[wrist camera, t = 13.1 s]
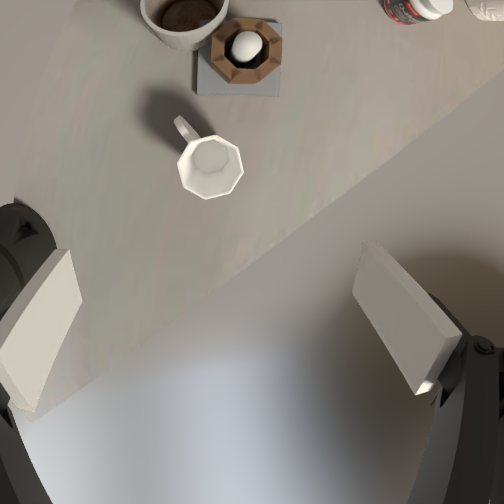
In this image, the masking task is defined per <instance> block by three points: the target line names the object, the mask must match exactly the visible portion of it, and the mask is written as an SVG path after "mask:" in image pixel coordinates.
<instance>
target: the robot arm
mask: <svg viewBox="0 0 504 504" xmlns="http://www.w3.org/2000/svg"><path fill="white" fill-rule="evenodd" d="M352 294H353V295H354V297H355V298H356V300H357V301H358V303H359V304H360V306H361V308H362V309H363V310H364V312H365V314H366V315H367V317H368V318H369V320H370V322H371V323H372V325H373V326H374V328H375V329H376V331H377V333H378V334H379V336H380V337H381V339H382V341H383V342H384V344H385V346H386V347H387V349H388V350H389V352H390V354H391V355H392V357H393V359H394V360H395V362H396V364H397V365H398V367H399V369H400V370H401V372H402V374H403V375H404V377H405V379H406V380H407V382H408V384H409V386H410V387H411V389H412V391H413V392H414V394H415V395H417V394H420V393H424V392H427V391H430V390H431V389H432V387H433V386H434V384H435V383H436V381H437V380H439V381H440V383H441V384H442V386H441V387H440V389H439V391H438V392H437V394H436V395H435V397H434V398H433V400H432V401H431V403H430V405H431V406H432V405H433V404H434V402H435V401H436V406H435V410H434V415H433V419H432V424H431V428H430V432H429V436H428V440H427V444H426V447H425V451H424V454H423V457H422V461H421V464H420V467H419V470H418V473H417V477H416V480H415V482H414V485H413V488H412V491H411V494H410V496H409V499H408V501H407V504H489V499H490V504H504V348H498V347H495V346H494V344H493V343H492V342H491V341H489V340H488V339H486V338H485V337H482V336H471V335H470V334H469V333H468V332H467V330H466V329H465V328H464V327H463V326H462V325H461V323H460V322H459V321H458V320H457V319H456V318H455V317H454V316H452V313H451V312H450V311H449V310H448V309H446V307H445V305H444V304H443V303H441V301H440V300H439V299H437V298H436V297H434V296H433V295H431V294H429V293H426V292H425V291H424V290H423V289H422V288H421V287H420V285H418V283H417V282H416V281H415V280H414V279H413V278H412V277H411V276H410V275H409V274H408V273H407V272H406V271H405V270H404V269H403V268H402V267H401V266H400V265H399V264H398V263H397V262H396V260H395V259H394V258H393V257H391V255H390V254H389V253H388V252H387V251H386V250H385V249H384V248H383V247H382V246H381V245H379V244H378V243H377V242H363V245H362V250H361V254H360V259H359V264H358V268H357V273H356V277H355V282H354V286H353V290H352ZM81 303H82V297H81V294H80V290H79V287H78V283H77V279H76V276H75V272H74V268H73V264H72V259H71V255H70V251H69V249H57V247H56V243H55V240H54V237H53V235H52V233H51V231H50V229H49V227H48V226H47V224H46V223H45V222H44V220H43V219H42V218H41V217H40V216H39V215H38V214H37V213H36V212H34V211H33V210H32V209H30V208H28V207H26V206H24V205H21V204H15V203H12V204H6V205H4V206H2V207H0V504H53V503H52V502H51V500H50V498H49V496H48V495H47V493H46V491H45V489H44V487H43V485H42V483H41V481H40V479H39V477H38V475H37V473H36V471H35V469H34V467H33V464H32V462H31V460H30V458H29V456H28V453H27V451H26V449H25V446H24V444H23V441H22V439H21V436H20V434H19V431H18V428H17V426H16V423H15V420H14V417H13V414H12V412H11V410H10V408H9V407H8V402H9V400H10V398H11V399H12V401H13V402H14V404H15V405H16V406H17V408H19V409H23V410H27V411H31V412H34V411H35V408H36V406H37V403H38V400H39V397H40V395H41V392H42V390H43V387H44V384H45V382H46V379H47V377H48V374H49V372H50V370H51V367H52V365H53V363H54V360H55V358H56V356H57V353H58V351H59V349H60V346H61V344H62V342H63V340H64V338H65V336H66V333H67V331H68V329H69V327H70V325H71V323H72V321H73V319H74V317H75V315H76V313H77V311H78V309H79V307H80V305H81Z"/></svg>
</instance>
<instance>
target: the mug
mask: <svg viewBox="0 0 504 504" xmlns="http://www.w3.org/2000/svg"><path fill="white" fill-rule="evenodd" d="M228 4H229V0H141V1H140V8H141V14H142V16H143V18H144V20H145V21H146V22H147V24H148V25H149V26H150V27H151V29H152V30H153V31H154V32H155V33H156V35H157V36H158V37H159V38H160V39H161V41H162V42H163V43H164V44H166V45H167V46H169V47H170V48H172V49H175V50H178V51H195V50H198V48H201V47H203V46H206V45H207V44H209V43H211V42H212V35H213V34H214V33H215V32H216V31H217V30H219V29H220V28H221V27H222V26H224V23H225V19H226V14H227V9H228ZM200 20H212V21H211V22H210V23H208V24H206V25H205V26H203V27H201V28H199V27H200Z"/></svg>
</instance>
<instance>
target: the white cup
mask: <svg viewBox="0 0 504 504" xmlns="http://www.w3.org/2000/svg"><path fill="white" fill-rule="evenodd" d="M466 3H467V5H468V8H469V9H470V10H471V12H472V13H473V14H474V15H475V16H476V17H477V18H478V19H481V20H493V21H504V0H466Z"/></svg>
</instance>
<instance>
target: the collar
mask: <svg viewBox="0 0 504 504" xmlns="http://www.w3.org/2000/svg"><path fill="white" fill-rule="evenodd" d="M245 31H251V32H254V33H256V34H257V35H259V36H260V38H261V40H262V48H261V63H260V65H259V66H258V67H257V68H256V69H238V68H236V67H235V66H234V65H233V64H232V63H231V62H230V61H229V60H228V59H227V58H225V57H224V48H225V47H226V46H227V45H228V44H229V43H231V42H232V41H233V40H234V39H235V38H236V37H237V36H238V35H239V34H240V33H242V32H245ZM281 58H282V38H281V37H280V35H279V34H278V33H277V32H276V31H275V30H274V29H273V28H271V27H270V26H269V25H268V24H267V23H266V22H265V21H264V20H263V19H253V18H233V19H231V20H230V21H229V22H228V23H226V24H225V25H224V26H222V27H221V28H220V29H219V30H217V31H216V32H215V33H214V34H213V35H212V50H211V68H212V69H213V70H215V71H216V72H217V73H218V74H219V75H220V76H221V77H222V78H223V79H224V80H225V81H226V82H227V83H228V84H255V83H257V82H259V81H261V80H262V79H263V78H265V77H266V76H267V75H268V74H269V73H271V72H272V71H273V70H274V69H275V68H277V67H278V66H279V65H280V64H281Z"/></svg>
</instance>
